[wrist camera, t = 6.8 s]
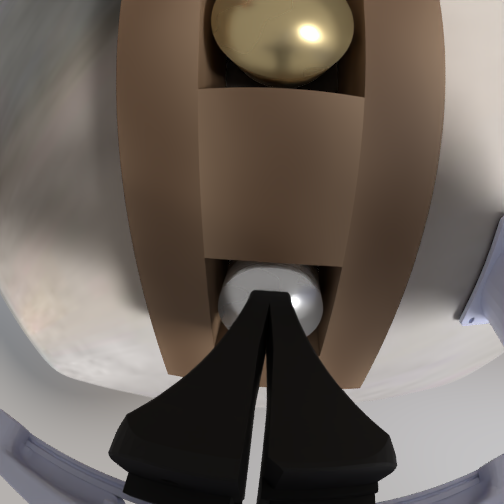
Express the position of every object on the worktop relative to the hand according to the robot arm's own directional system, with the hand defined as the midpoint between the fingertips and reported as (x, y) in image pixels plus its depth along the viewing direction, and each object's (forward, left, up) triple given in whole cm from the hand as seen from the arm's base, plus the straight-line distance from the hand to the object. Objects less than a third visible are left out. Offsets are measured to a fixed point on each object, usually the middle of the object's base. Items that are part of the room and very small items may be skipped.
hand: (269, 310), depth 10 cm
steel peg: (0, 0, -4) cm, 4 cm away
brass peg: (0, -10, -4) cm, 11 cm away
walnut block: (0, -5, -4) cm, 6 cm away
